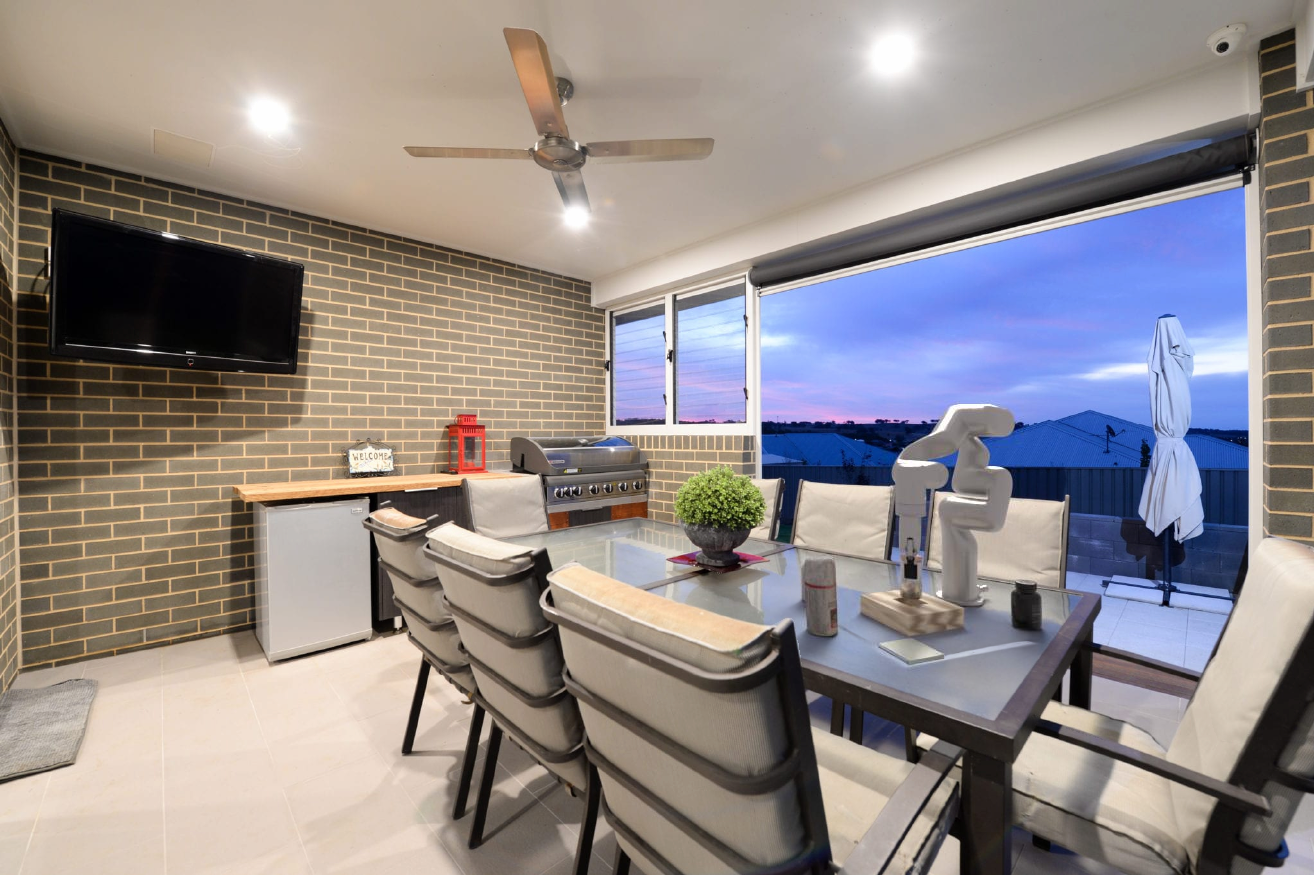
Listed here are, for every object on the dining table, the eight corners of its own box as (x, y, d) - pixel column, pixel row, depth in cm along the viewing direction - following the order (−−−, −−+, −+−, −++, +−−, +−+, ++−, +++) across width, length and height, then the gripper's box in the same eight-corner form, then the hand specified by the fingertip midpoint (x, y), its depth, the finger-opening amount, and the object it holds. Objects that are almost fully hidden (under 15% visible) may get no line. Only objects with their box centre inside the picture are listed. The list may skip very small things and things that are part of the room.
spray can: (821, 640, 134) (821, 561, 134) (798, 629, 142) (798, 554, 141) (845, 633, 138) (845, 557, 138) (822, 623, 145) (821, 550, 145)
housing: (911, 608, 156) (911, 588, 156) (964, 631, 139) (964, 608, 139) (860, 615, 151) (860, 594, 151) (908, 640, 134) (908, 616, 133)
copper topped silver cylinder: (911, 592, 148) (911, 553, 148) (926, 598, 143) (926, 557, 143) (895, 594, 147) (895, 554, 146) (910, 600, 142) (910, 559, 141)
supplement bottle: (1036, 623, 144) (1037, 579, 143) (1046, 632, 137) (1046, 586, 137) (1007, 620, 146) (1007, 577, 146) (1015, 629, 140) (1015, 584, 139)
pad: (911, 641, 133) (911, 637, 133) (944, 658, 123) (944, 654, 123) (878, 647, 130) (878, 643, 130) (909, 665, 120) (909, 660, 120)
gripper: (897, 503, 153) (897, 565, 154) (893, 514, 138) (894, 583, 139) (926, 505, 150) (926, 568, 151) (925, 516, 135) (926, 586, 136)
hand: (911, 574), depth 145 cm, fingers closed on copper topped silver cylinder, 5 cm apart
